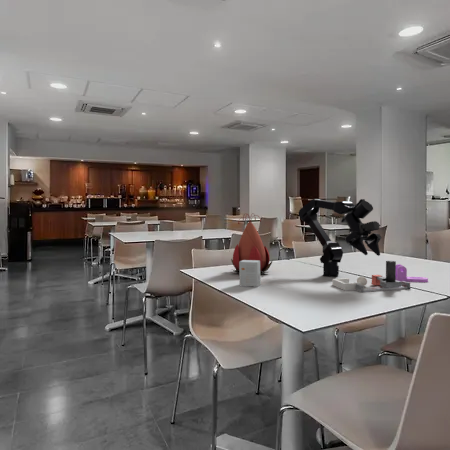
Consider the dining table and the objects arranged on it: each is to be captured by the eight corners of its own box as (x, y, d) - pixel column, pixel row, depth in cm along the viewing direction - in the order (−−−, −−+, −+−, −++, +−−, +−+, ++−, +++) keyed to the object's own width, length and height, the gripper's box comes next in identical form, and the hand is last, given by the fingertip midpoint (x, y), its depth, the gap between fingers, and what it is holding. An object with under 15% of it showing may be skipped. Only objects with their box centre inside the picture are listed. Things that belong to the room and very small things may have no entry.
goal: (347, 284, 160) (347, 278, 160) (361, 289, 150) (361, 283, 150) (332, 285, 159) (332, 279, 159) (344, 290, 149) (344, 284, 149)
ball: (356, 286, 155) (356, 277, 155) (357, 284, 159) (357, 275, 159) (366, 287, 154) (366, 277, 153) (367, 285, 157) (367, 276, 157)
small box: (260, 284, 161) (260, 260, 161) (257, 287, 156) (257, 262, 155) (242, 283, 164) (242, 259, 163) (239, 286, 158) (238, 261, 158)
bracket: (397, 281, 165) (397, 266, 165) (394, 279, 170) (394, 264, 170) (429, 282, 162) (430, 266, 162) (425, 280, 168) (425, 264, 167)
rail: (404, 286, 154) (404, 281, 154) (410, 288, 150) (410, 282, 150) (355, 290, 149) (355, 284, 149) (360, 292, 146) (360, 285, 146)
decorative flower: (239, 268, 204) (238, 212, 202) (279, 270, 194) (279, 212, 192) (221, 275, 184) (220, 213, 183) (265, 278, 174) (265, 214, 173)
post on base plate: (384, 283, 160) (384, 258, 159) (401, 288, 149) (401, 261, 149) (369, 284, 158) (369, 258, 158) (385, 289, 148) (385, 262, 147)
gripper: (356, 211, 155) (375, 243, 147) (381, 216, 166) (400, 245, 158) (337, 227, 162) (354, 258, 154) (362, 230, 173) (379, 259, 165)
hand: (373, 255), depth 158 cm, fingers open, 9 cm apart
